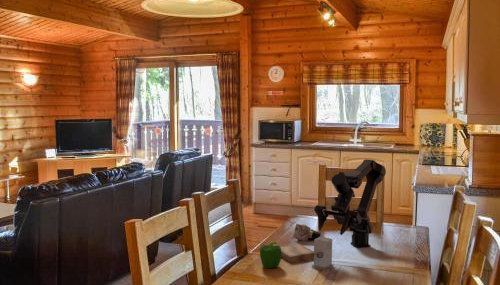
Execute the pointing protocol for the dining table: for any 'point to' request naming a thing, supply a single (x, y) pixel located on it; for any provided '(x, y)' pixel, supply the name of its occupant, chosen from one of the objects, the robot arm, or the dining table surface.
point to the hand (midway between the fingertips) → (330, 232)
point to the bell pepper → (270, 255)
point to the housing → (323, 253)
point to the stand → (296, 253)
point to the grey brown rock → (305, 233)
